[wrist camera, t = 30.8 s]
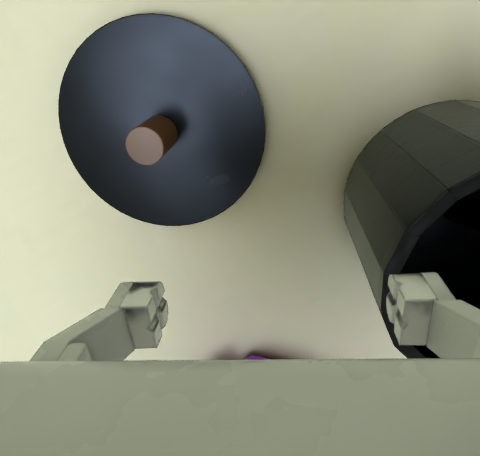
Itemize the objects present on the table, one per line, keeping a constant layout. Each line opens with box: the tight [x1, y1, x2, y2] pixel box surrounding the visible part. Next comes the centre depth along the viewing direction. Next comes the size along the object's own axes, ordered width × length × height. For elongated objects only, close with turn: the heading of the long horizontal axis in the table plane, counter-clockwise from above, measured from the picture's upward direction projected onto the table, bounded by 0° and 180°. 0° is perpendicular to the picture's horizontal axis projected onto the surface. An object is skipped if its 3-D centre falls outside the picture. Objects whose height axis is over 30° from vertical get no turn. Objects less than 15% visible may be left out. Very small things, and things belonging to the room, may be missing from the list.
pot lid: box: [59, 13, 265, 226], centre depth 27 cm, size 16×16×5 cm
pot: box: [344, 100, 480, 359], centre depth 25 cm, size 15×20×12 cm
